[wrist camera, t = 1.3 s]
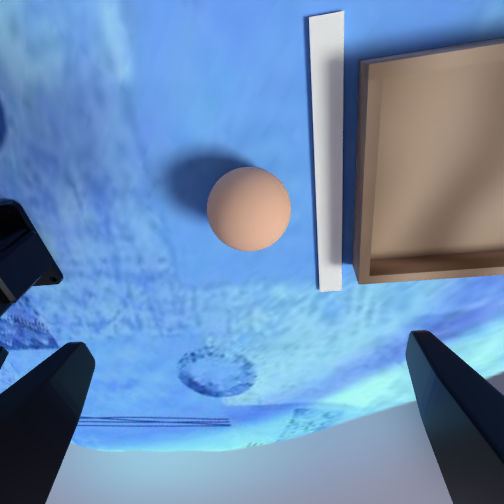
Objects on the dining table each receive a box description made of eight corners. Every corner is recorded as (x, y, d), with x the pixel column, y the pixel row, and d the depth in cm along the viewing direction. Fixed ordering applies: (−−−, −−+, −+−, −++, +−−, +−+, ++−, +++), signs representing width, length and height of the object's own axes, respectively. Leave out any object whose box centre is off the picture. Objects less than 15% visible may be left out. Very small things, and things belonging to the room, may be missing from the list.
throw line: (319, 289, 23) (319, 291, 23) (308, 17, 14) (308, 17, 14) (341, 288, 23) (341, 290, 23) (343, 10, 14) (343, 10, 14)
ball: (222, 228, 21) (210, 271, 17) (206, 160, 18) (188, 193, 15) (292, 221, 20) (295, 264, 17) (286, 150, 18) (288, 181, 14)
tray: (352, 265, 22) (358, 284, 20) (359, 60, 15) (369, 64, 14) (551, 250, 20) (575, 269, 18) (656, 13, 14) (707, 11, 12)
